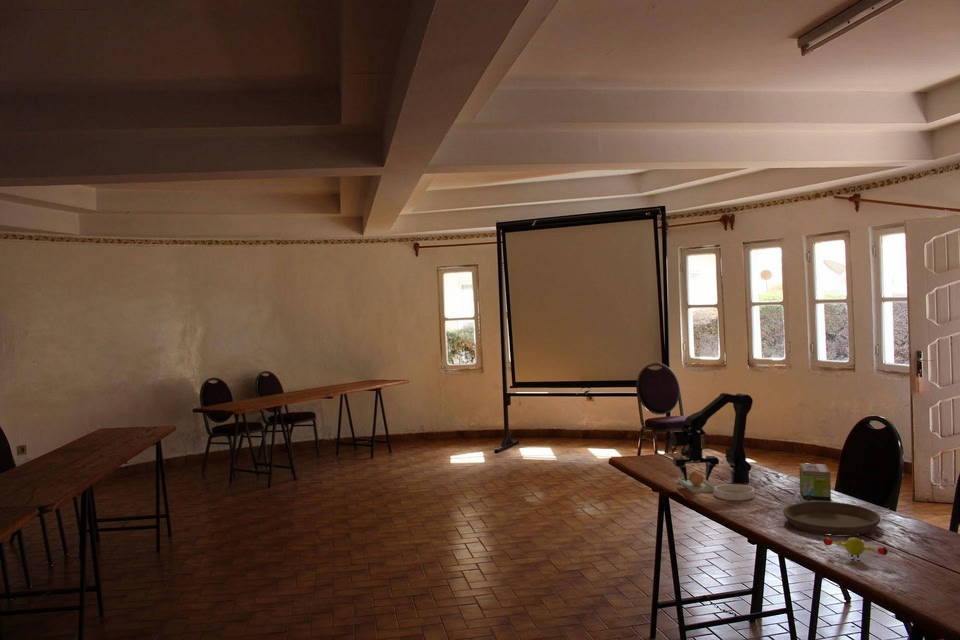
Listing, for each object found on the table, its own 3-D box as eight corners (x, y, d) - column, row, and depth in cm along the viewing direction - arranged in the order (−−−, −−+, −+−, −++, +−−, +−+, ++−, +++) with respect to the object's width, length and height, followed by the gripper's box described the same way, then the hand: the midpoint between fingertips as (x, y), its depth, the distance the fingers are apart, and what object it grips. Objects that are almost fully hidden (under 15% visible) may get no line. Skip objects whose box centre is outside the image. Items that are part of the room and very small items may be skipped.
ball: (701, 483, 320) (700, 469, 320) (705, 486, 314) (705, 472, 314) (687, 483, 320) (687, 470, 320) (691, 487, 314) (691, 473, 314)
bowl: (746, 491, 307) (745, 483, 307) (760, 501, 291) (760, 492, 291) (709, 493, 307) (709, 484, 307) (722, 502, 291) (721, 494, 291)
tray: (700, 481, 328) (699, 476, 328) (716, 493, 306) (716, 488, 306) (678, 482, 328) (677, 477, 328) (693, 494, 306) (692, 489, 306)
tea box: (832, 510, 275) (830, 471, 274) (803, 509, 278) (801, 470, 278) (827, 500, 289) (825, 463, 289) (799, 499, 292) (798, 462, 292)
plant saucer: (826, 544, 238) (825, 530, 238) (765, 519, 268) (764, 506, 268) (902, 532, 246) (901, 519, 246) (835, 509, 276) (834, 497, 276)
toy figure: (890, 562, 218) (889, 540, 218) (886, 568, 214) (885, 545, 214) (827, 551, 230) (826, 530, 230) (821, 556, 226) (820, 534, 226)
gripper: (710, 440, 325) (711, 475, 325) (668, 442, 325) (670, 477, 325) (718, 445, 314) (720, 481, 314) (675, 447, 313) (677, 483, 314)
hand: (696, 480), depth 317 cm, fingers open, 9 cm apart
